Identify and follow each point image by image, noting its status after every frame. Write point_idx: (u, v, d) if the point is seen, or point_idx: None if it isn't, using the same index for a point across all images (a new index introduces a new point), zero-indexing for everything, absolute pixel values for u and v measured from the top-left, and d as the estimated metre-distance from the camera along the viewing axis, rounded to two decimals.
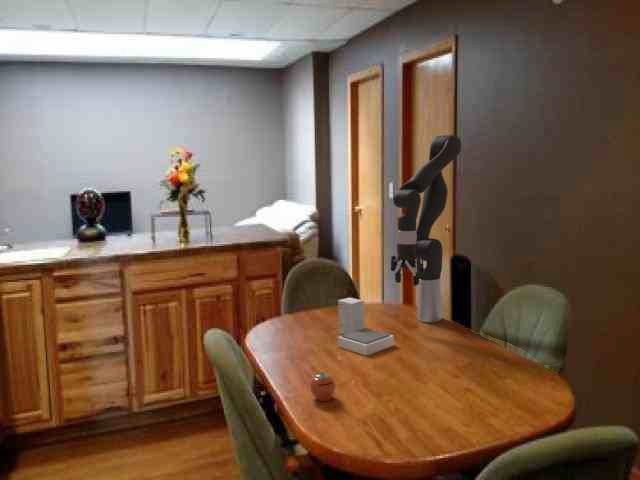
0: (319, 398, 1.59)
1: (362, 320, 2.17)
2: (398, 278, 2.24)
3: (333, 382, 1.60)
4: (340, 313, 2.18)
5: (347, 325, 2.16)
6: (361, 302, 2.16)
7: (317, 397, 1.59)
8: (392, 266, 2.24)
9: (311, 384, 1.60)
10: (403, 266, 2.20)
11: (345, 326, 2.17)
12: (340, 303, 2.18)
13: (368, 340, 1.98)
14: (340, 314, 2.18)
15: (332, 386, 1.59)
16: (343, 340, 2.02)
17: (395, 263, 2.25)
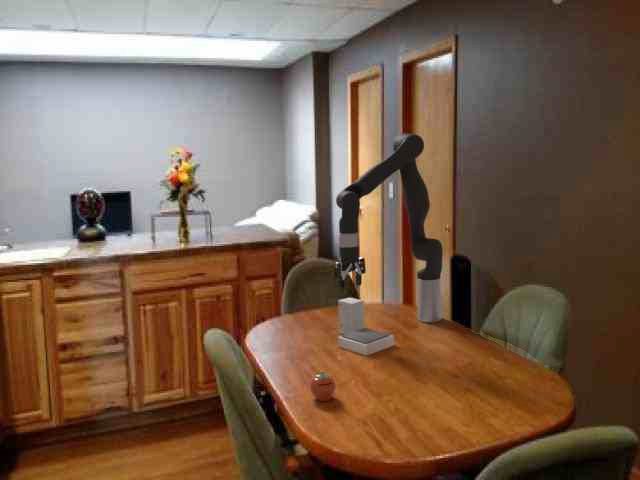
0: (319, 398, 1.59)
1: (362, 320, 2.17)
2: None
3: (333, 382, 1.60)
4: (340, 313, 2.18)
5: (347, 325, 2.16)
6: (361, 302, 2.16)
7: (317, 397, 1.59)
8: (340, 274, 2.11)
9: (311, 384, 1.60)
10: (350, 270, 2.14)
11: (345, 326, 2.17)
12: (340, 303, 2.18)
13: (368, 340, 1.98)
14: (340, 314, 2.18)
15: (332, 386, 1.59)
16: (343, 340, 2.02)
17: None
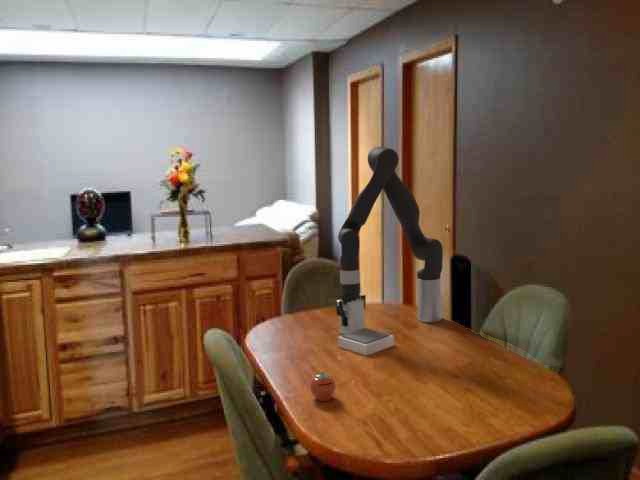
0: (319, 398, 1.59)
1: (362, 320, 2.17)
2: None
3: (333, 382, 1.60)
4: None
5: None
6: (361, 302, 2.16)
7: (317, 397, 1.59)
8: (342, 311, 2.13)
9: (311, 384, 1.60)
10: None
11: None
12: None
13: (368, 340, 1.98)
14: None
15: (332, 386, 1.59)
16: (343, 340, 2.02)
17: None
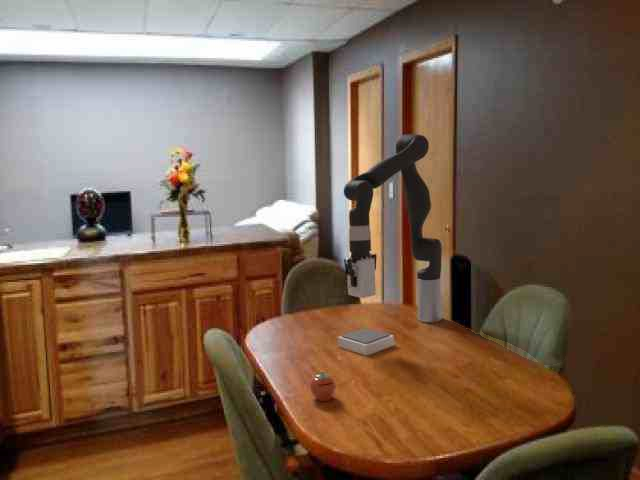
0: (319, 398, 1.59)
1: (373, 280, 2.01)
2: None
3: (333, 382, 1.60)
4: None
5: None
6: (372, 260, 2.00)
7: (317, 397, 1.59)
8: (351, 270, 1.97)
9: (311, 384, 1.60)
10: None
11: (354, 287, 2.01)
12: None
13: (368, 340, 1.98)
14: None
15: (332, 386, 1.59)
16: (343, 340, 2.02)
17: None
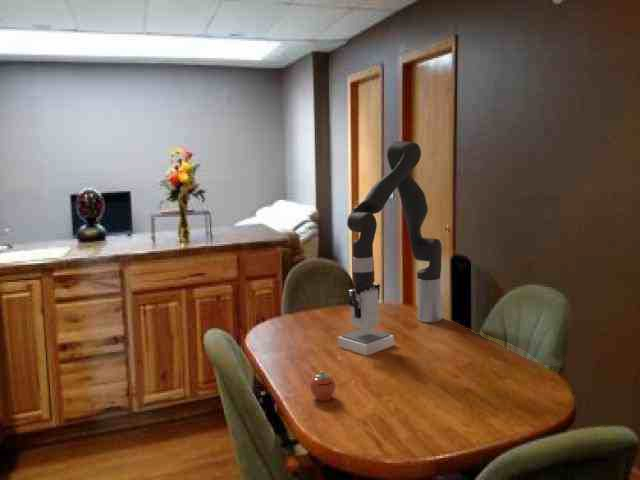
0: (319, 398, 1.59)
1: (377, 311, 2.01)
2: None
3: (333, 382, 1.60)
4: None
5: None
6: (375, 292, 2.00)
7: (317, 397, 1.59)
8: (355, 302, 1.97)
9: (311, 384, 1.60)
10: None
11: (357, 318, 2.01)
12: None
13: (368, 340, 1.98)
14: None
15: (332, 386, 1.59)
16: (343, 340, 2.02)
17: None
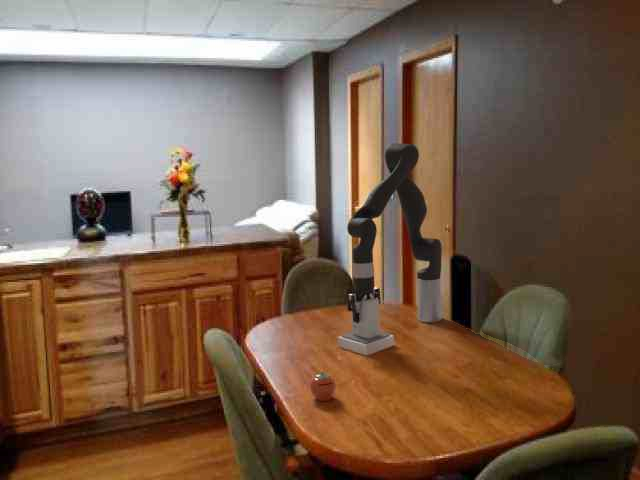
0: (319, 398, 1.59)
1: (377, 320, 2.01)
2: None
3: (333, 382, 1.60)
4: None
5: (361, 325, 2.01)
6: (376, 301, 2.00)
7: (317, 397, 1.59)
8: (354, 306, 1.97)
9: (311, 384, 1.60)
10: None
11: (358, 327, 2.02)
12: None
13: (368, 340, 1.98)
14: None
15: (332, 386, 1.59)
16: (343, 340, 2.02)
17: None
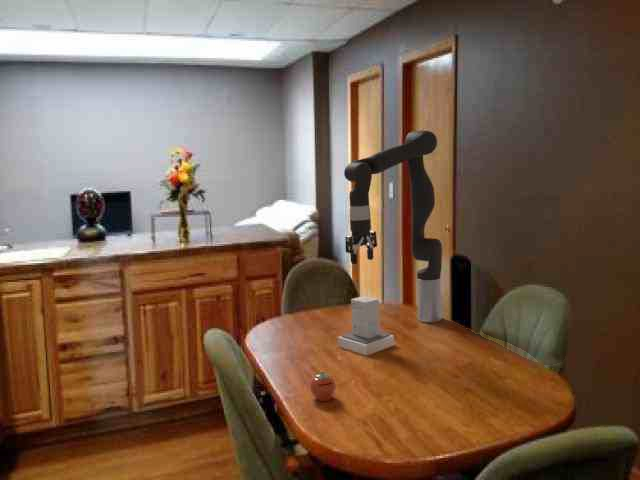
0: (319, 398, 1.59)
1: (377, 320, 2.01)
2: None
3: (333, 382, 1.60)
4: (353, 313, 2.03)
5: (361, 325, 2.01)
6: (376, 301, 2.00)
7: (317, 397, 1.59)
8: (351, 248, 2.05)
9: (311, 384, 1.60)
10: (362, 243, 2.09)
11: (358, 327, 2.02)
12: (353, 302, 2.02)
13: (368, 340, 1.98)
14: (353, 314, 2.03)
15: (332, 386, 1.59)
16: (343, 340, 2.02)
17: None
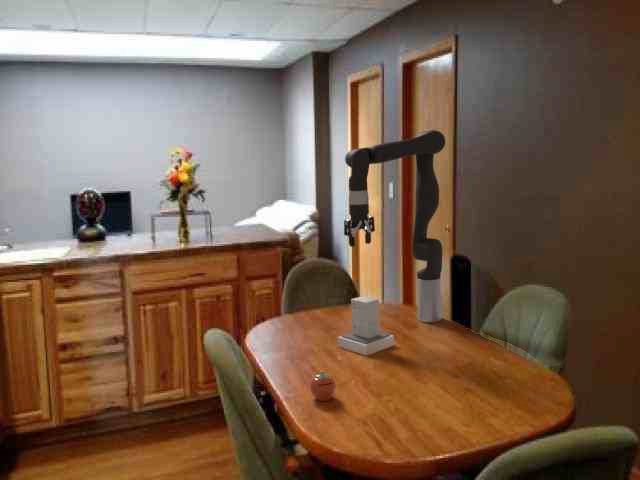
0: (319, 398, 1.59)
1: (377, 320, 2.01)
2: None
3: (333, 382, 1.60)
4: (353, 313, 2.03)
5: (361, 325, 2.01)
6: (376, 301, 2.00)
7: (317, 397, 1.59)
8: (349, 231, 2.14)
9: (311, 384, 1.60)
10: (360, 227, 2.17)
11: (358, 327, 2.02)
12: (353, 302, 2.02)
13: (368, 340, 1.98)
14: (353, 314, 2.03)
15: (332, 386, 1.59)
16: (343, 340, 2.02)
17: None
